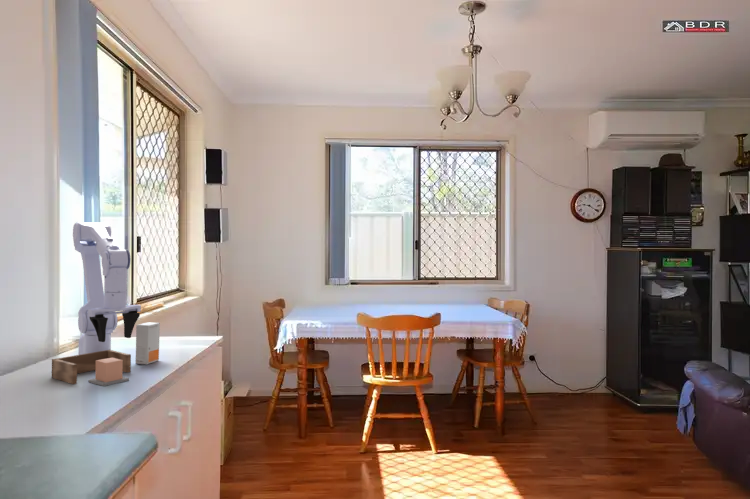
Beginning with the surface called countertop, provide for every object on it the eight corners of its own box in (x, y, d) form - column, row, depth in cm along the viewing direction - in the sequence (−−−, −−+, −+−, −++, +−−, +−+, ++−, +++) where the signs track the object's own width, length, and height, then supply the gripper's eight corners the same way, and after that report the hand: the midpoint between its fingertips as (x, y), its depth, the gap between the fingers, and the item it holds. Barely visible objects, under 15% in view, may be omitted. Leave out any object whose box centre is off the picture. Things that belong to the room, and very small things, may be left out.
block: (95, 379, 137) (95, 360, 137) (111, 375, 141) (112, 357, 141) (105, 382, 135) (106, 363, 134) (122, 378, 138) (122, 360, 138)
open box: (51, 377, 140) (51, 359, 140) (108, 366, 154) (109, 349, 154) (72, 384, 134) (73, 365, 134) (130, 371, 148) (130, 354, 148)
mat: (88, 381, 137) (88, 379, 137) (114, 376, 143) (114, 374, 143) (103, 386, 133) (103, 383, 133) (128, 380, 139) (128, 378, 139)
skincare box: (147, 364, 157) (148, 325, 156) (135, 364, 157) (135, 324, 157) (159, 360, 163) (160, 322, 162) (147, 359, 163) (148, 321, 163)
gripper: (98, 294, 138) (97, 345, 138) (147, 290, 151) (146, 337, 151) (83, 292, 142) (83, 342, 142) (133, 289, 154) (132, 334, 155)
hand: (114, 339), depth 147 cm, fingers open, 7 cm apart
